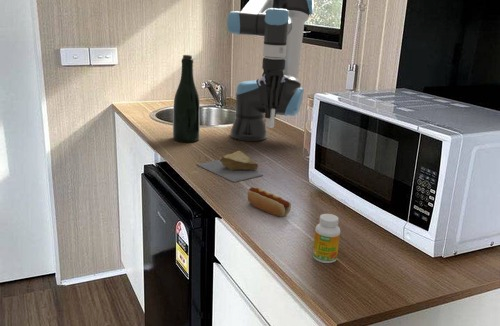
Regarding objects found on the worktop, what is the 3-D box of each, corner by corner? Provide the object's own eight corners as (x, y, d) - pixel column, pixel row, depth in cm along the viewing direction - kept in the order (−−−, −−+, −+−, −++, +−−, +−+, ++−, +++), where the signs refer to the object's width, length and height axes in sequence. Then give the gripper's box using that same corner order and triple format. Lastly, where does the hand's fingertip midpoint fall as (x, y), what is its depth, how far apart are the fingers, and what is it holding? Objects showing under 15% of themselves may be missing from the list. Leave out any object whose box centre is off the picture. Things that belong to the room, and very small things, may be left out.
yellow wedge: (258, 164, 157) (238, 142, 159) (238, 182, 157) (218, 159, 159) (261, 169, 168) (242, 148, 170) (243, 186, 168) (224, 165, 170)
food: (242, 204, 134) (243, 187, 133) (256, 199, 138) (257, 183, 137) (279, 221, 125) (281, 203, 124) (293, 216, 129) (295, 198, 127)
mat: (224, 159, 172) (224, 158, 172) (262, 175, 158) (263, 174, 157) (196, 165, 164) (196, 164, 164) (234, 182, 150) (234, 181, 150)
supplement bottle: (314, 263, 105) (319, 222, 102) (310, 251, 110) (314, 211, 107) (339, 264, 105) (344, 223, 102) (334, 252, 110) (338, 212, 107)
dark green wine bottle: (192, 135, 201) (193, 53, 191) (203, 141, 193) (206, 56, 183) (168, 137, 196) (169, 53, 186) (179, 144, 187) (180, 56, 177)
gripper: (267, 60, 154) (262, 132, 162) (296, 58, 162) (290, 127, 170) (251, 57, 159) (248, 127, 167) (280, 55, 167) (275, 122, 175)
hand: (269, 126), depth 168 cm, fingers closed
